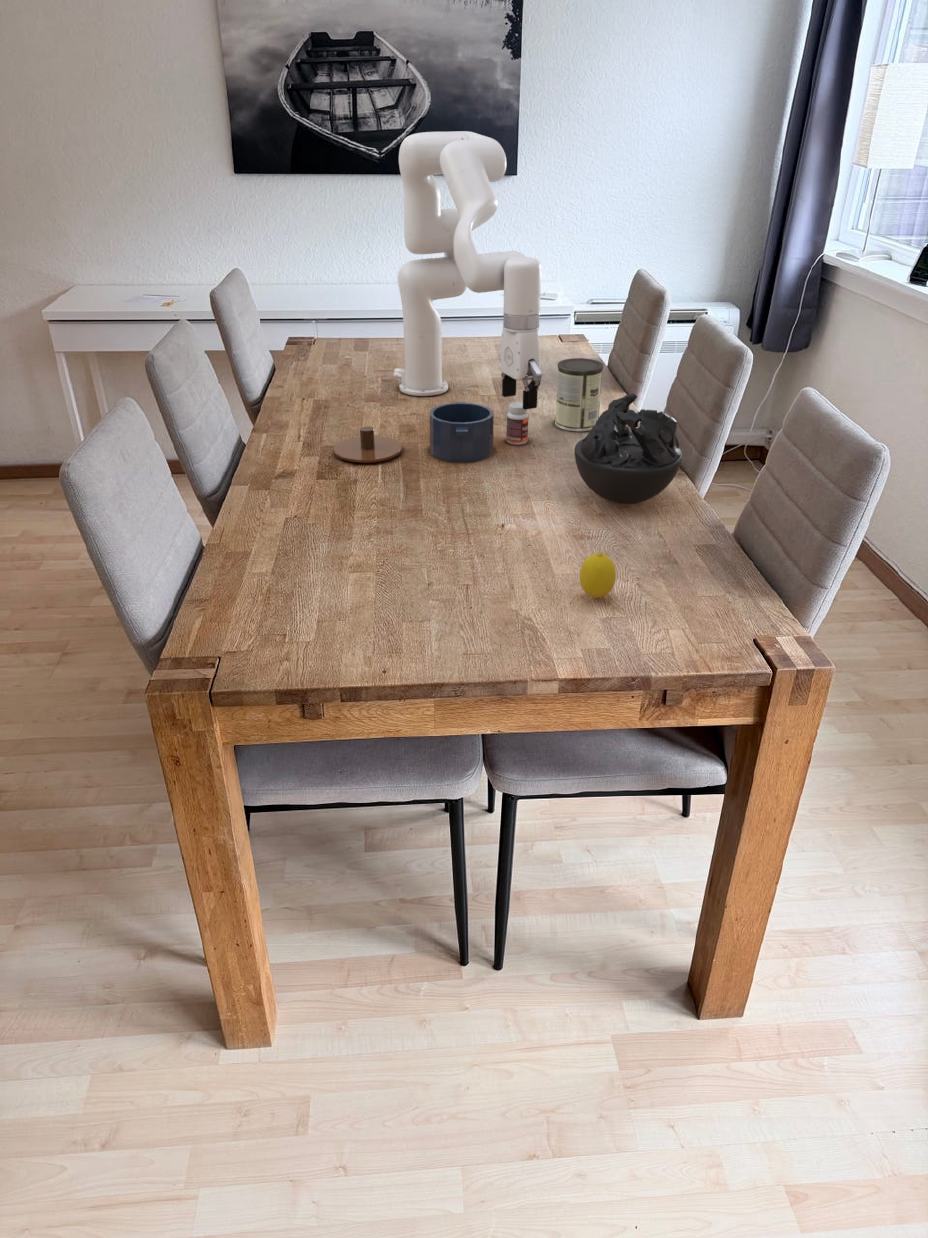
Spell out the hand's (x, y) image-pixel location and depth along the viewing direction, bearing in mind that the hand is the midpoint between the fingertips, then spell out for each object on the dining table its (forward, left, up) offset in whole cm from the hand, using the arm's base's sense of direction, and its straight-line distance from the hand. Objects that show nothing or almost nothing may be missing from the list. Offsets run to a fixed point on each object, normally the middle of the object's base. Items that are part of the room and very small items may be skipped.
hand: (519, 401), depth 197 cm
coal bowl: (+32, -18, -9) cm, 38 cm away
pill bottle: (0, 0, -9) cm, 9 cm away
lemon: (+42, -56, -9) cm, 70 cm away
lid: (-25, -22, -9) cm, 35 cm away
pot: (-8, -11, -9) cm, 16 cm away
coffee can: (+7, +17, -9) cm, 21 cm away
